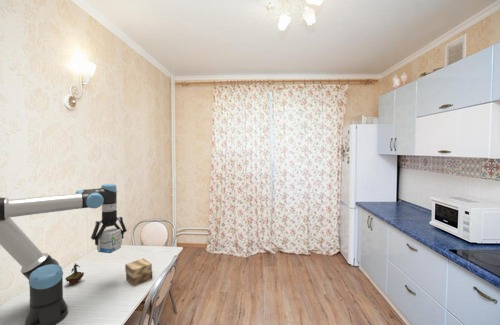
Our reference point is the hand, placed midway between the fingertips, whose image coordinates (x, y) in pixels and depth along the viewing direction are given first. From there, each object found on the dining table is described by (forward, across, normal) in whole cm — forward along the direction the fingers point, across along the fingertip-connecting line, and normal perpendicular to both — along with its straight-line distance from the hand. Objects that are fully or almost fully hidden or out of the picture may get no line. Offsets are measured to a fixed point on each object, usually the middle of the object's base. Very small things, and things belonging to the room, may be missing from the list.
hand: (109, 247), depth 138 cm
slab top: (+17, +13, -8) cm, 23 cm away
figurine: (+22, -13, +16) cm, 31 cm away
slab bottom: (+22, +14, -8) cm, 27 cm away
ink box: (+2, 0, 0) cm, 2 cm away
